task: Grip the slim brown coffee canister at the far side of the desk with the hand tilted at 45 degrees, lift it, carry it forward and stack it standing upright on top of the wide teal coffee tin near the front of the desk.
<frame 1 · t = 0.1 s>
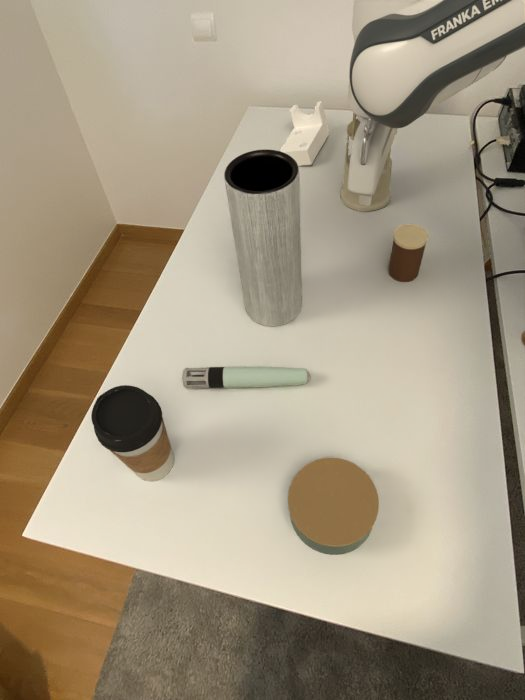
hand: (372, 182, 75), 20 cm above the table, tool pointing down, fingers open, 8 cm apart
coffee tin: (331, 511, 66), on the table
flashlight: (247, 380, 79), on the table
coffee cup: (154, 462, 72), on the table
vase: (273, 305, 88), on the table
lamp: (372, 196, 104), on the table
coffee canister: (403, 271, 90), on the table
bracket: (302, 149, 115), on the table
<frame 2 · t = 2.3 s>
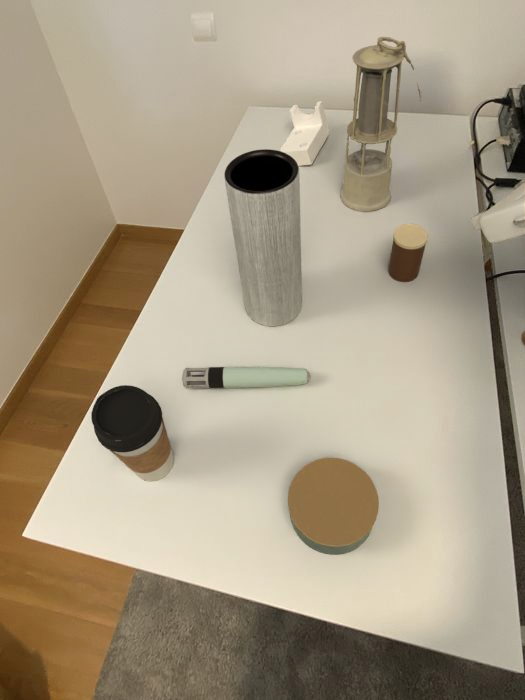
hand: (497, 205, 67), 21 cm above the table, tool tilted 45°, fingers open, 8 cm apart
nothing on the table moved.
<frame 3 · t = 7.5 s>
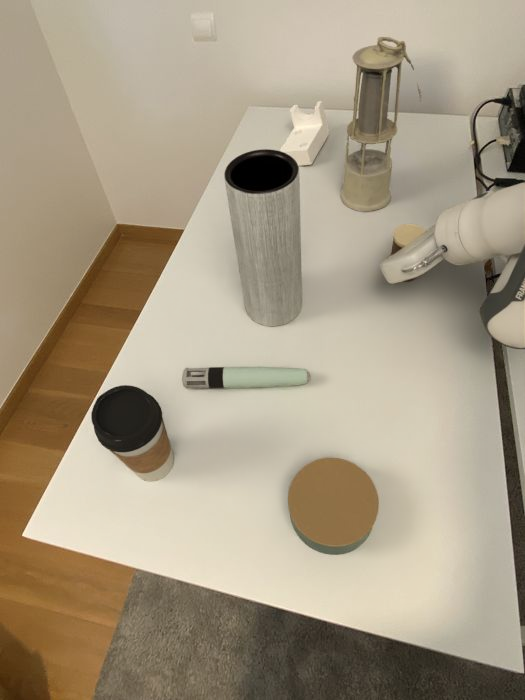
hand: (404, 250, 87), 5 cm above the table, tool tilted 45°, fingers closed on coffee canister, 5 cm apart
coffee canister: (403, 271, 90), on the table, touching gripper
everything else where it was.
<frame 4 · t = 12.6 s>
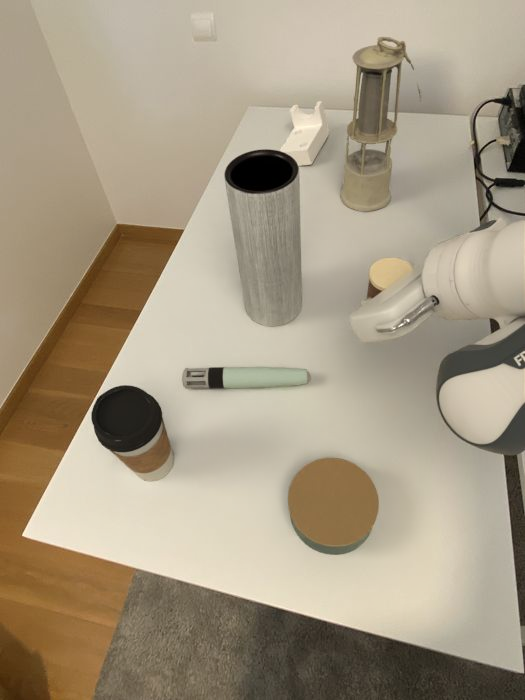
hand: (385, 291, 66), 16 cm above the table, tool tilted 45°, fingers closed on coffee canister, 5 cm apart
coffee canister: (384, 316, 69), point 12 cm above the table, touching gripper
everything else where it was.
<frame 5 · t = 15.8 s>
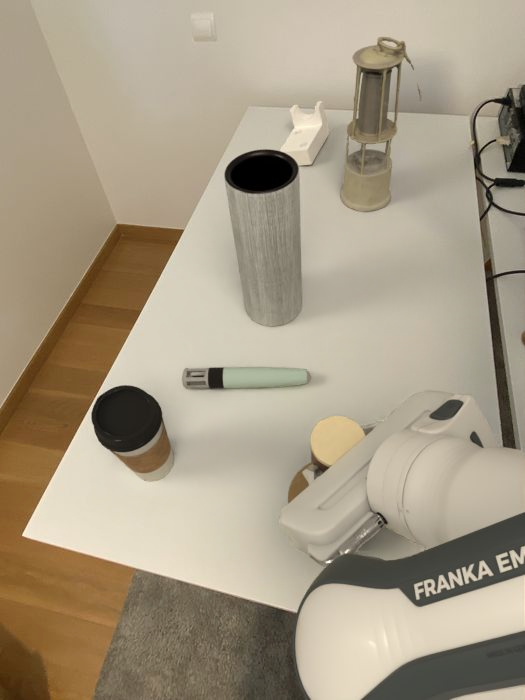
hand: (333, 453, 54), 16 cm above the table, tool tilted 45°, fingers closed on coffee canister, 5 cm apart
coffee canister: (335, 473, 57), point 11 cm above the table, touching gripper
everything else where it was.
when the fingers open (9 cm above the table, at t = 18.2 s): coffee canister stays where it is, resting on coffee tin.
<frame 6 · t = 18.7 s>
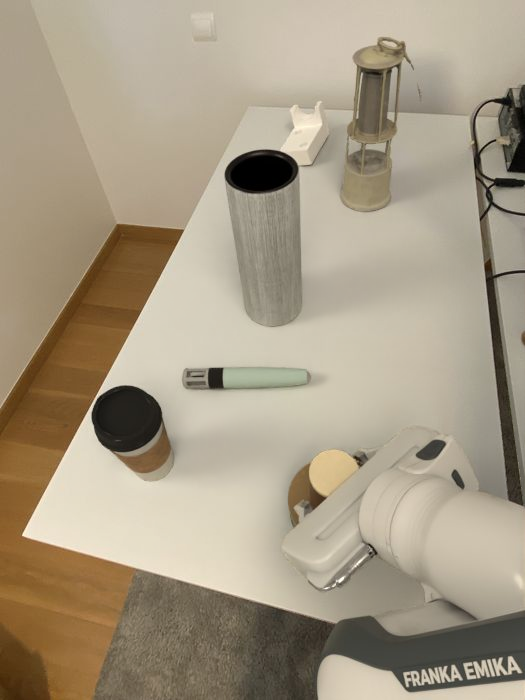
hand: (330, 481, 59), 9 cm above the table, tool tilted 45°, fingers open, 8 cm apart
coffee tin: (331, 511, 66), on the table, touching coffee canister
coffee canister: (331, 499, 62), point 4 cm above the table, touching coffee tin
everything else where it was.
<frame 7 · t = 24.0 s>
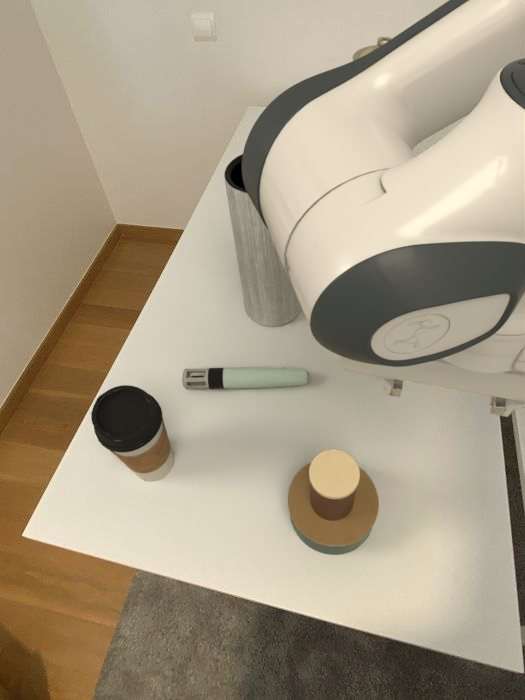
hand: (444, 398, 46), 25 cm above the table, tool pointing down, fingers open, 8 cm apart
nothing on the table moved.
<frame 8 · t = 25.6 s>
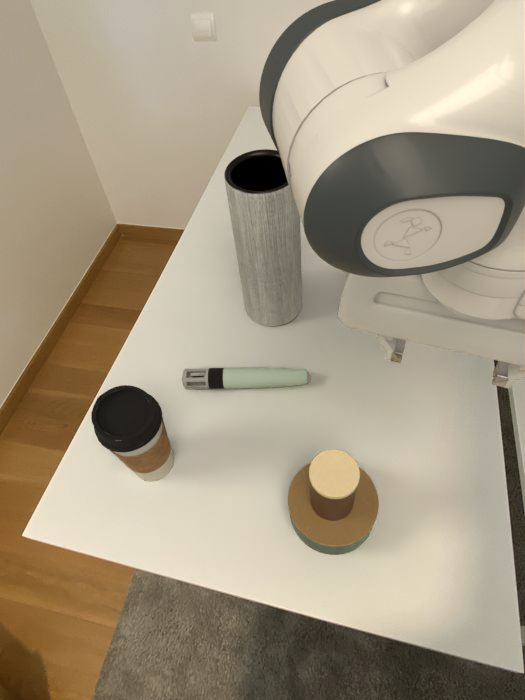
hand: (446, 368, 46), 27 cm above the table, tool pointing down, fingers open, 8 cm apart
nothing on the table moved.
at the end: coffee canister 0.1 cm off-centre on the coffee tin, point 4.5 cm above the coffee tin's base; coffee canister tilted 0°; the gripper is holding nothing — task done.
